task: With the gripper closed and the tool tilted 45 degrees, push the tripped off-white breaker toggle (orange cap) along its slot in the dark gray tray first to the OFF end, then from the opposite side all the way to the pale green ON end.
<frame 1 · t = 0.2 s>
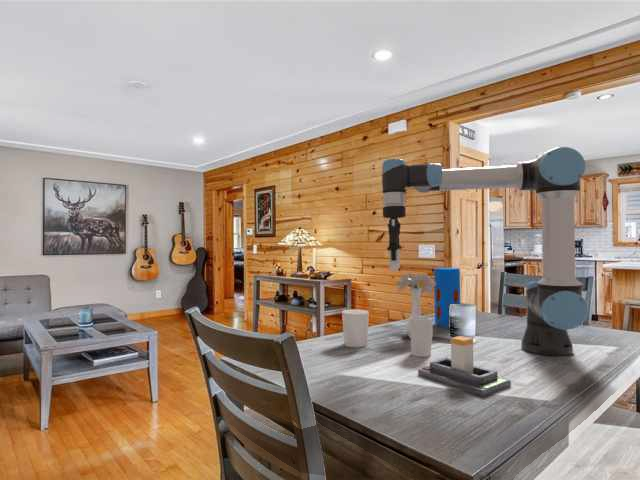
hand: (395, 269, 135), 28 cm above the table, tool pointing down, fingers open, 13 cm apart
flower vase: (416, 337, 158), on the table
mug: (424, 354, 134), on the table
candle holder: (355, 345, 146), on the table
toggle: (462, 355, 108), point 6 cm above the table, slide at 0.0 cm
dark gray tray: (462, 380, 108), on the table
leaf-print blue block: (447, 325, 178), on the table
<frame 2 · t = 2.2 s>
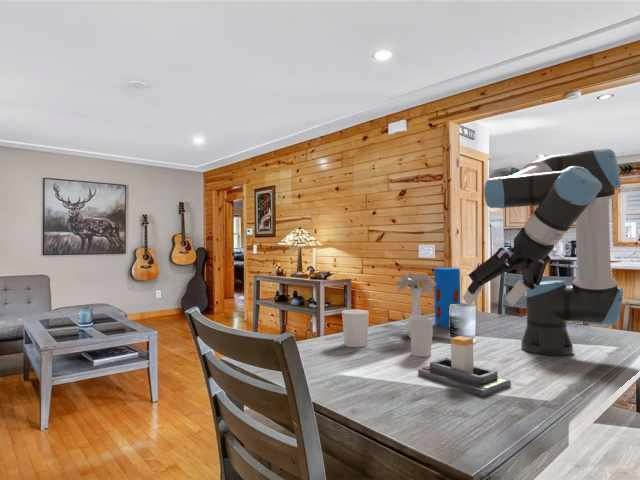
hand: (488, 301, 100), 22 cm above the table, tool tilted 40°, fingers open, 13 cm apart
nothing on the table moved.
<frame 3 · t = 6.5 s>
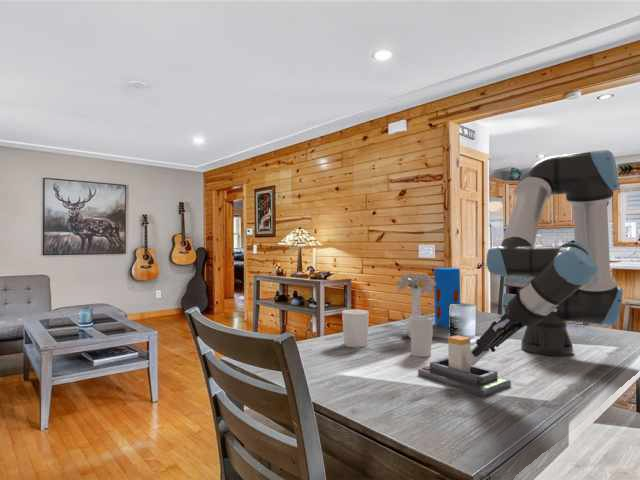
hand: (469, 360, 106), 6 cm above the table, tool tilted 45°, fingers closed
toggle: (459, 355, 109), point 7 cm above the table, slide at -0.9 cm, touching gripper
everything else where it was.
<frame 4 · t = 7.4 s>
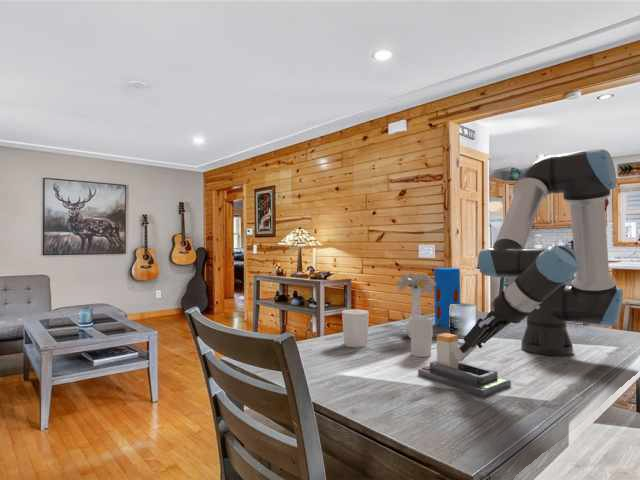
hand: (457, 356, 109), 6 cm above the table, tool tilted 45°, fingers closed
toggle: (447, 352, 112), point 7 cm above the table, slide at -4.7 cm, touching gripper
everything else where it was.
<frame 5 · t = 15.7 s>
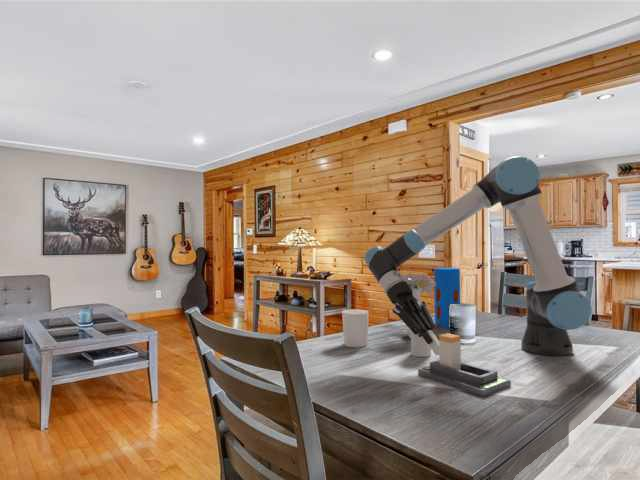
hand: (440, 352, 114), 6 cm above the table, tool tilted 45°, fingers closed
toggle: (449, 352, 111), point 6 cm above the table, slide at -3.9 cm, touching gripper
everything else where it was.
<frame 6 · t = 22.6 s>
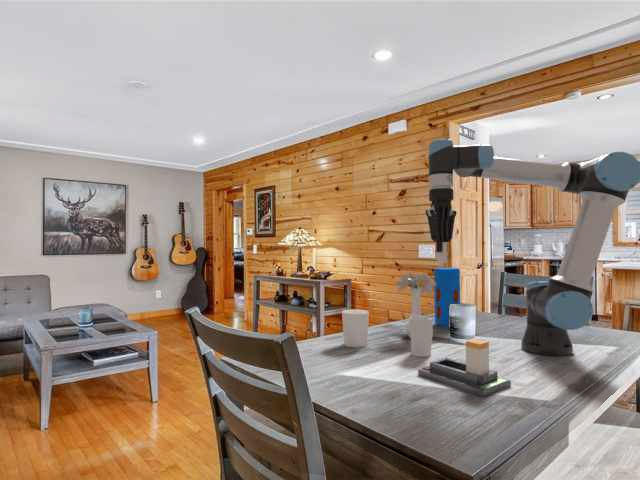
hand: (442, 262, 129), 30 cm above the table, tool pointing down, fingers closed
toggle: (477, 359, 104), point 6 cm above the table, slide at 4.5 cm
everything else where it was.
at the end: toggle slide at 4.5 cm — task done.
